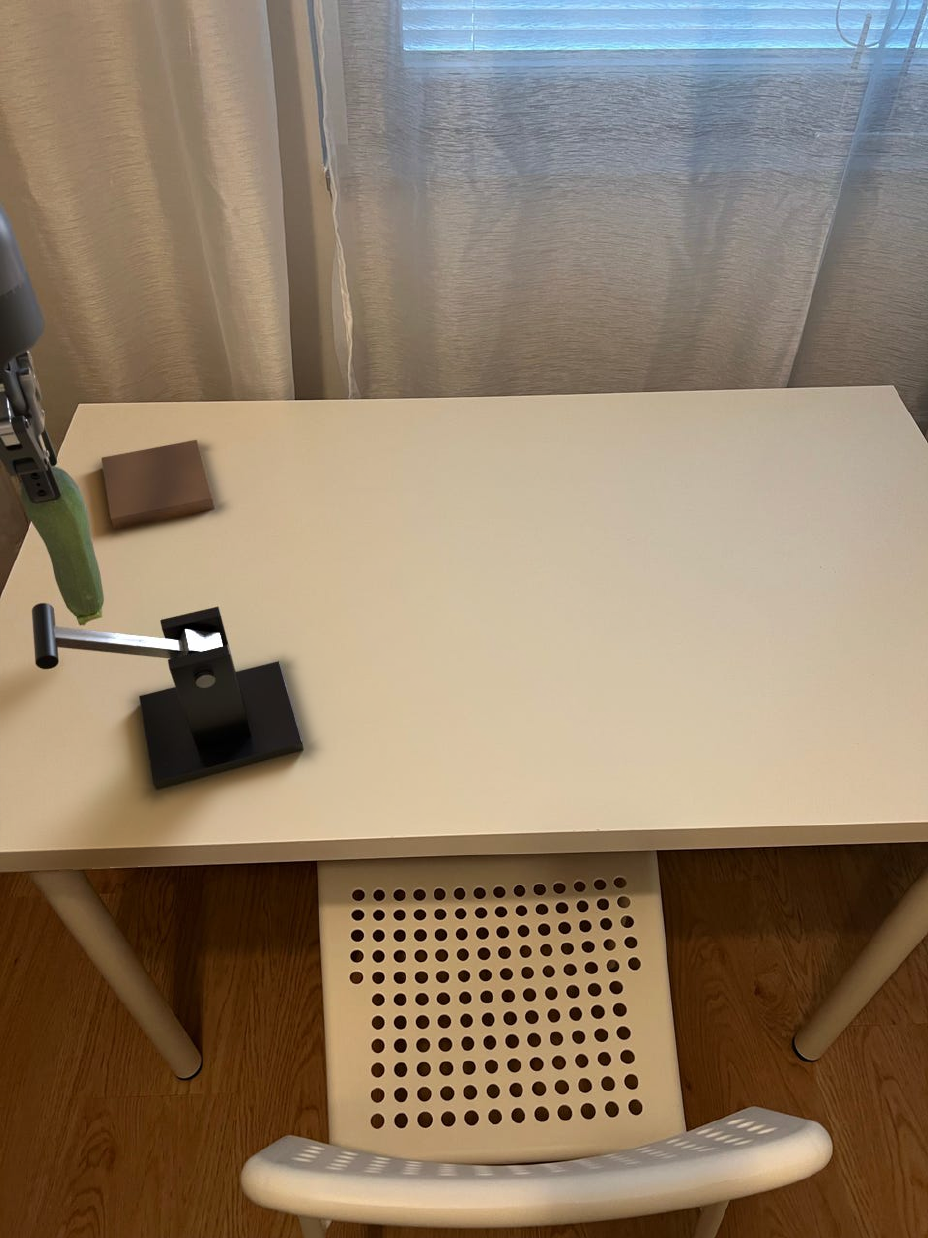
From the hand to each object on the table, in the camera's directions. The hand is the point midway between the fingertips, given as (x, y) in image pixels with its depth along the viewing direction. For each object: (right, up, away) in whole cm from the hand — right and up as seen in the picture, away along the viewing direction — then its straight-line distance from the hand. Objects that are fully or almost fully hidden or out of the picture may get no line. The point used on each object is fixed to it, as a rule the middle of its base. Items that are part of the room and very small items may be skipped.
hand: (44, 481), depth 72 cm
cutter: (+12, -20, +7) cm, 24 cm away
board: (0, +3, +26) cm, 26 cm away
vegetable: (-1, -10, +11) cm, 15 cm away
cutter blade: (+7, -13, -3) cm, 16 cm away
